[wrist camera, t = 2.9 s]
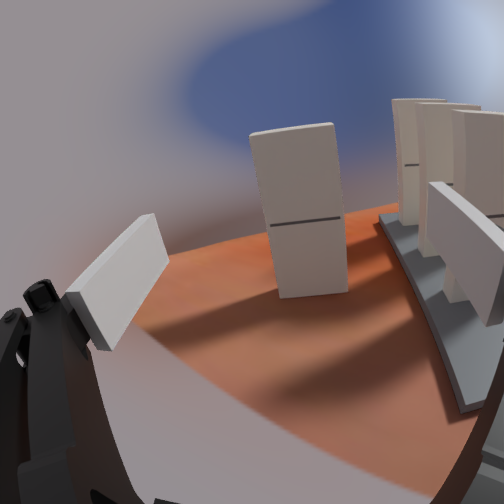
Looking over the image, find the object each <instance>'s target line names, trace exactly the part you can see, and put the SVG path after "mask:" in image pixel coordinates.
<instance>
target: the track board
mask: <svg viewBox="0 0 504 504" xmlns="http://www.w3.org/2000/svg"><path fill="white" fill-rule="evenodd" d="M379 223H380V225H381V226H382V228H383V230H384V232H385V234H386V236H387V238H388V239H389V241H390V243H391V245H392V247H393V249H394V251H395V253H396V255H397V257H398V259H399V261H400V263H401V265H402V267H403V269H404V271H405V273H406V275H407V277H408V279H409V281H410V283H411V285H412V288H413V290H414V292H415V294H416V296H417V299H418V301H419V303H420V305H421V308H422V310H423V312H424V314H425V317H426V319H427V321H428V324H429V326H430V329H431V331H432V334H433V336H434V339H435V341H436V344H437V346H438V349H439V351H440V354H441V357H442V359H443V362H444V365H445V368H446V370H447V373H448V376H449V379H450V382H451V385H452V388H453V391H454V394H455V397H456V400H457V403H458V407H459V410H460V413H461V414H462V413H466V412H469V411H473V410H476V409H479V408H482V407H483V404H484V402H485V399H486V397H487V394H488V392H489V389H490V386H491V383H492V381H493V378H494V375H495V372H496V369H497V366H498V363H499V359H500V356H501V353H502V349H503V346H504V342H502V341H503V338H504V319H503V322H502V323H501V324H497V325H493V326H489V327H485V326H484V324H483V322H482V321H481V319H480V317H479V316H478V314H477V312H476V310H475V309H474V307H473V305H472V304H471V302H470V300H466V301H461V302H455V303H449V301H448V299H447V297H446V295H445V294H444V292H443V290H442V289H443V283H444V277H445V271H446V264H445V262H444V261H443V259H442V258H441V256H440V255H439V256H431V257H423V256H422V255H421V253H420V251H419V250H418V231H419V225H409V226H403V225H402V224H401V222H400V221H399V212H398V213H387V214H379Z"/></svg>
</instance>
